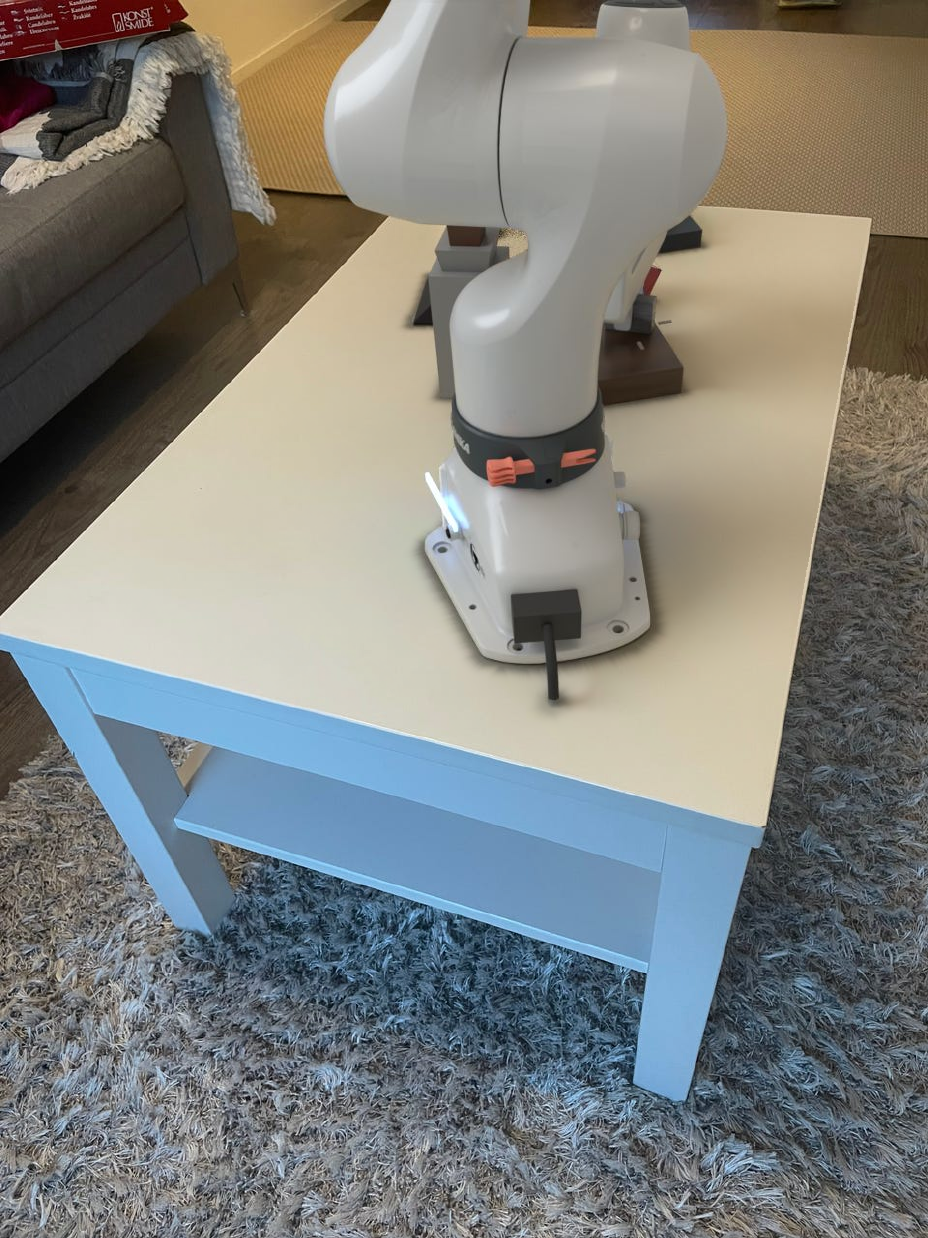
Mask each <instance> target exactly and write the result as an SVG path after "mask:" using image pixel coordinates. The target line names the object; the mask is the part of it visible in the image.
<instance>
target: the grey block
mask: <svg viewBox="0 0 928 1238" xmlns="http://www.w3.org/2000/svg"><path fill="white" fill-rule="evenodd" d="M657 298H658V296H657V295H655V294H650V295H645V294H638V295H637V297H636V299H635V301H634V303H633V310H634V317H633V323H632V326H631V328H630V330H628V332H636V333H644V334H651V333H652V331H653V329H654V325H655V323H656V312H657ZM605 329H612V330H616V329H615V328H614V324H611V323H605ZM620 331H621V330H620Z"/></svg>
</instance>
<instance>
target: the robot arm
mask: <svg viewBox="0 0 928 1238" xmlns="http://www.w3.org/2000/svg"><path fill="white" fill-rule="evenodd" d="M530 7H531V0H390V1H389V4H388V6H387V7H386V9H385V11H384V12H383V14H382V16H381V18H380V20H379V21H378V22H377V24H376V25H375V27H374V28H373V30H372V31H371V32H370V33H369V34H368V36H367V37H366V38H365V39H364V41H362V43H361V44H360V45H359V46H358V47H357V48H356V49H354V51H352V52H351V54H349V55H348V57H347V58H345V60H344V62H343V63H342V65H340V68H339V69H338V71H337V73H336V75H335V76H334V78H333V80H332V83H331V85H330V87H329V89H328V93H327V97H326V102H325V107H324V112H323V139H324V147H325V153H326V157H327V159H328V162H329V166H330V169H331V171H332V173H333V176H334V177H335V179H336V181H337V184H338V185H339V186H340V188H341V190H342V191H343V192H344V194H345V196H347V198H348V199H349V200H350V201H351V202H352V204H354V205H355V206H356V207H358V208H360V209H362V210H363V209H364V210H367V211H370V212H374V213H377V214H380V215H383V216H387V217H390V218H395V219H399V220H402V221H406V222H410V223H414V224H418V225H429V226H430V225H431V226H433V225H434V226H446V225H451V226H472V227H494V228H500V229H511V230H512V231H517V232H521V233H523V234H524V235H525V237H526V241H527V248H526V249H524V250H523V251H522V252H519V253H518V254H516V255H514V256H512V257H510V259H507V260H505V261H503V262H500V263H498V264H496V265H494V266H492V267H490V268H488V269H487V270H485V271H484V272H482V273H481V274H479V275H478V276H477V277H475V278H474V279H473V280H472V281H470V282H469V283H468V284H467V285H466V286H465V287H464V289H463V290H462V291H461V293H460V294H459V296H458V297H457V299H456V301H455V303H454V306H453V309H452V313H451V317H450V337H451V348H452V359H453V370H454V382H455V393H454V395H453V398H451V411H450V426H451V431H452V434H453V443H454V447H453V448H452V450H451V451H450V452H449V454H448V456H447V457H446V458H445V459H444V460H443V461H442V463H441V465H440V466H439V467H438V478H439V489H438V487H437V485H436V483H435V481H434V480H433V477H432V476H431V474H430V472H425V481H426V483H427V484H428V487H429V488H430V491H431V493H432V494H433V496H434V498H435V500H436V502H437V504H438V506H439V507H440V509H441V522H442V525H440V526H438V527H437V528H436V529H434V530H433V531H431V532H429V534H428V535H427V536H426V538H425V539H424V552H425V554H426V556H427V558H428V560H429V562H430V564H431V566H432V567H433V569H434V571H435V573H436V575H437V576H438V578H439V580H440V582H441V583H442V586H443V588H444V589H445V591H446V593H447V595H448V597H449V598H450V600H451V602H452V604H453V606H454V607H455V610H456V611H457V613H458V615H459V618H461V620H462V623H463V624H464V626H465V628H466V630H467V632H468V634H469V635H470V637H471V639H472V640H473V642H474V644H475V646H476V648H477V650H478V651H479V653H480V655H482V656H483V657H484V658H486V659H490V660H493V661H496V662H497V661H498V662H503V663H508V664H524V665H528V664H529V665H535V664H545V666H546V667H545V668H546V678H547V697H548V698H547V699H548V700H550V701H557V700H559V698H560V688H559V687H560V686H559V684H560V683H559V669H558V662H564V661H572V660H576V659H582V658H586V657H592V656H595V655H599V654H602V653H606V652H609V651H612V650H615V649H617V648H620V647H622V646H625V645H627V644H629V643H631V642H633V641H634V640H636V639H638V638H639V637H641V636H642V635H643V634H645V633H646V632H647V631H648V630H649V629H650V628H651V612H650V605H649V597H648V592H647V585H646V578H645V573H644V567H643V560H642V553H641V548H640V541H639V539H640V537H641V536H640V535H641V520H640V513H639V511H636V510H634V507H633V506H632V505H631V504H629V503H627V502H625V501H624V500H623V499H618V498H617V491H616V490H619V489H620V490H621V489H625V488H626V485H627V484H626V483H627V481H626V479H627V478H626V473H625V471H615V470H614V469H613V461H612V457H613V439H612V438H610V437H609V436H608V435H607V434H605V428H606V419H605V418H606V417H605V407H604V405H603V404H602V394H601V391H600V388H599V386H598V366H599V353H600V344H601V336H602V329H603V323H611V324H614V328H615V329H616V330H621V331H628V330H630V328H631V326H632V323H633V317H634V310H633V303H634V301H635V299H636V297H637V295H638V294H641V293H642V289H643V285H644V281H645V279H646V276H647V274H648V272H649V270H650V268H651V266H652V265H654V263H655V260H656V258H657V256H658V254H659V253H658V252H659V250H660V248H661V246H662V244H663V242H664V240H665V237H666V234H667V231H668V230H669V229H671V228H673V227H674V226H676V225H678V224H679V223H681V222H682V221H683V220H684V219H686V218H687V217H688V216H689V215H690V216H691V214H693V212H694V211H695V210H696V209H697V208H698V207H699V206H700V205H701V203H702V202H703V201H704V199H705V198H706V196H707V195H708V193H709V192H710V190H711V189H712V187H713V185H714V183H715V181H716V179H717V177H718V175H719V172H720V170H721V167H722V164H723V160H724V157H725V152H726V148H727V147H726V146H727V140H728V116H727V106H726V103H725V98H724V93H723V91H722V89H721V86H720V83H719V81H718V79H717V77H716V76H715V75H716V74H715V73H714V71H713V70H712V69H711V67H710V65H709V64H708V62H707V61H706V60H705V59H704V58H703V56H702V55H701V54H700V53H698V52H693V51H691V34H690V33H691V32H690V21H689V15H688V9H687V7H686V6H685V5H684V4H682V3H681V2H680V1H678V0H606V1H605V2H603V3H602V4H601V5H600V7H599V10H598V14H597V15H598V16H597V21H596V28H595V32H594V33H595V34H594V36H528V26H529V17H530ZM652 267H653V266H652Z"/></svg>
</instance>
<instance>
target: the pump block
mask: <svg viewBox="0 0 928 1238" xmlns="http://www.w3.org/2000/svg"><path fill="white" fill-rule="evenodd" d="M702 237H703V229H702V228H701V227H700V226H699V224H698V223H697V221H696V220H694V218H693V216H691V214H690V215H689V216H688V217H687V218H686V219H684V220H683V221H682V222H681V223H679V224H678V225H676V226H674V227H673V228H671V229H669V230H668V231H667V234H666V237H665V240H664V242H663V244H662V246H661V248H660V250H659V252H658V254H663V253H668V252H675V251H683V250H689V249H695V248H696V249H697V248H701V246H702Z"/></svg>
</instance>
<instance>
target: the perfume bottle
mask: <svg viewBox="0 0 928 1238" xmlns="http://www.w3.org/2000/svg"><path fill="white" fill-rule="evenodd" d="M500 231H501V228H494V227H472V226H451V225H445V227H444V230H443V232H442V233H441V236H440V238H439V240H438V242H437V244H436V246H435V247H434V255H435V256H436V258H437V259H436V258H435V261H434V262H433V265H432V268H431V269H430V272H429V273H428V275H427V277H428V280H429V290H430V300H431V309H432V319H433V326H432V327H433V337H434V347H435V359H436V367H437V375H438V377H437V378H438V386H439V387H438V389H439V397H440V399H441V398H442V399H443V398H444V399H452V398H453V395H454V393H455V382H454V370H453V359H452V348H451V337H450V317H451V313H452V309H453V306H454V303H455V301H456V299H457V297H458V296H459V294H460V293H461V291H462V290H463V289H464V287H465V286H466V285H467V284H468V283H469V282H470V281H472V280H473V279H474V278H475V277H477V276H478V275H479V274H481V273H482V272H484V271H485V270H487V269H488V268H490V267H492V266H494V265H496V264H498V263H500V262H503V261H505V260H507V259H510V258H511V257H510V256H511V255H510V246H509V245H508V246H507V245H498V243H499V238H500Z"/></svg>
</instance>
